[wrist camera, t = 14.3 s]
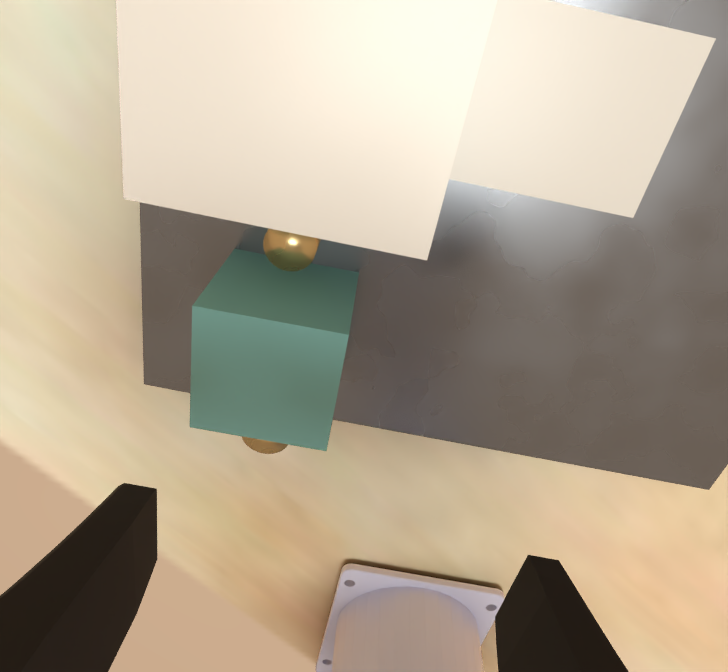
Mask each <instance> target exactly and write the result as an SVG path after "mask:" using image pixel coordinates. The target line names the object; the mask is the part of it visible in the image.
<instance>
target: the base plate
mask: <svg viewBox="0 0 728 672" xmlns="http://www.w3.org/2000/svg"><path fill="white" fill-rule="evenodd" d="M550 1H554V2H559V3H563V4H567V5H572V6H576V7H581V8H585V9H589V10H594V11H598V12H602V13H607V14H611V15H615V16H620V17H624V18H629V19H633V20H637V21H642V22H646V23H650V24H655V25H659V26H663V27H668V28H672V29H677V30H681V31H685V32H690V33H694V34H698V35H703V36H707V37H711V38H716V40H715V42H714V44H713V46H712V48H711V50H710V53H709V55H708V57H707V59H706V61H705V63H704V66H703V68H702V70H701V72H700V74H699V76H698V79H697V81H696V83H695V85H694V87H693V89H692V92H691V94H690V96H689V98H688V100H687V102H686V105H685V107H684V109H683V111H682V113H681V115H680V118H679V120H678V122H677V124H676V126H675V128H674V131H673V133H672V135H671V137H670V139H669V141H668V143H667V146H666V148H665V150H664V152H663V154H662V156H661V159H660V161H659V163H658V165H657V167H656V169H655V172H654V174H653V176H652V178H651V180H650V182H649V185H648V187H647V189H646V191H645V193H644V195H643V198H642V200H641V202H640V204H639V206H638V208H637V211H636V213H635V215H634V217H633V218H631V217H626V216H621V215H616V214H612V213H607V212H602V211H597V210H593V209H588V208H583V207H578V206H574V205H569V204H564V203H559V202H555V201H550V200H545V199H540V198H536V197H531V196H526V195H521V194H517V193H512V192H507V191H503V190H498V189H493V188H488V187H484V186H479V185H474V184H469V183H465V182H460V181H455V180H450V179H449V181H448V185H447V188H446V192H445V196H444V200H443V203H442V207H441V211H440V214H439V218H438V222H437V225H436V229H435V233H434V236H433V240H432V244H431V248H430V251H429V255H428V259H427V260H422V259H417V258H412V257H407V256H403V255H398V254H393V253H388V252H383V251H378V250H373V249H368V248H363V247H358V246H353V245H348V244H343V243H338V242H334V241H329V240H324V239H319V238H314V237H309V236H304V235H299V234H294V233H289V232H284V231H279V230H274V229H269V228H265V227H260V226H255V225H250V224H245V223H240V222H235V221H230V220H225V219H220V218H215V217H210V216H205V215H201V214H196V213H191V212H186V211H181V210H176V209H171V208H166V207H161V206H156V205H151V204H146V203H141V202H140V226H141V271H142V315H143V360H144V384H146V385H151V386H157V387H162V388H167V389H173V390H178V391H183V392H189V393H190V391H191V341H192V305H193V304H194V303H195V301H196V300H197V299H198V297H199V296H200V295H201V293H202V292H203V291H204V289H205V288H206V287H207V285H208V284H209V282H210V281H211V280H212V278H213V277H214V276H215V274H216V273H217V272H218V270H219V269H220V268H221V266H222V265H223V264H224V262H225V261H226V260H227V258H228V257H229V255H230V254H231V253H232V251H233V250H234V249H239V250H244V251H249V252H255V253H260V254H265V255H266V256H267V258H268V259H269V261H270V262H271V263H272V264H273V265H274V266H276V267H277V268H279V269H282V270H285V271H299V270H302V269H304V268H306V267H307V266H308V265H309V264H310V263H312V264H317V265H323V266H328V267H333V268H338V269H344V270H349V271H354V272H359V276H358V282H357V288H356V294H355V301H354V307H353V313H352V319H351V325H350V332H349V337H348V342H347V348H346V353H345V358H344V363H343V368H342V373H341V378H340V384H339V389H338V394H337V399H336V404H335V409H334V414H333V420H338V421H344V422H349V423H354V424H360V425H365V426H371V427H376V428H381V429H387V430H392V431H397V432H403V433H408V434H413V435H419V436H424V437H429V438H435V439H440V440H445V441H451V442H456V443H461V444H467V445H472V446H478V447H483V448H488V449H494V450H499V451H504V452H510V453H515V454H520V455H526V456H531V457H536V458H542V459H547V460H552V461H558V462H563V463H568V464H574V465H579V466H585V467H590V468H595V469H601V470H606V471H611V472H617V473H622V474H627V475H633V476H638V477H643V478H649V479H654V480H659V481H665V482H670V483H675V484H681V485H686V486H692V487H697V488H702V489H708V490H709V489H710V488H711V486H712V485H713V483H714V482H715V481H716V479H717V478H718V477H719V475H720V474H721V473H722V471H723V470H724V468H725V467H726V466H727V464H728V0H550ZM242 439H243V441H244V442H245V443H246V444H247V445H248V446H249V447H250V448H251V449H253V450H255V451H257V452H260V453H265V454H273V453H277V452H280V451H282V450H283V449H285V448H286V447H287V445H288V444H283V443H277V442H272V441H266V440H260V439H255V438H249V437H243V436H242Z"/></svg>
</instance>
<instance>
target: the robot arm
mask: <svg viewBox="0 0 728 672" xmlns="http://www.w3.org/2000/svg"><path fill="white" fill-rule="evenodd" d="M156 561H157V489H155V488H149V487H143V486H138V485H132V484H126V483H124V484H122V485H120V486H118V487H117V488H116V489H115V490H114V491H113V492H112V493H111V494H110V495H109V496H108V497H107V498H106V499H105V500H104V501H103V502H102V503H101V504H100V505H99V506H98V507H97V508H96V509H95V510H94V511H93V512H92V513H91V514H90V515H89V516H88V517H87V518H86V519H85V520H84V521H83V522H82V523H81V524H80V525H79V526H78V527H77V528H76V529H74V531H72V532H71V533H70V534H69V535H68V536H67V537H66V538H65V539H64V540H63V541H62V542H61V543H60V544H58V545H57V546H56V547H55V548H54V549H53V550H52V551H51V552H50V553H49V554H47V555H46V556H45V557H44V558H43V559H42V560H41V561H39V563H37V564H36V565H35V566H34V567H33V568H32V569H31V570H29V571H28V572H27V573H26V574H25V575H24V576H23V577H22V578H21V579H19V580H18V581H17V582H16V583H15V584H14V585H12V586H11V587H10V588H9V589H8V590H7V591H6V592H4V593H3V594H2V595H1V596H0V672H108V671H109V669H110V667H111V664H112V662H113V661H114V658H115V656H116V654H117V652H118V650H119V648H120V646H121V644H122V642H123V640H124V638H125V636H126V634H127V632H128V630H129V628H130V626H131V624H132V622H133V620H134V618H135V616H136V614H137V611H138V608H139V606H140V603H141V601H142V598H143V596H144V593H145V590H146V587H147V585H148V582H149V579H150V577H151V574H152V572H153V569H154V566H155V563H156ZM494 621H495V625H496V644H497V658H498V671H499V672H628V670H627V669H626V667H625V665H624V664H623V662H622V661H621V659H620V658H619V656H618V655H617V653H616V652H615V650H614V649H613V647H612V645H611V644H610V642H609V641H608V639H607V637H606V636H605V634H604V633H603V631H602V629H601V628H600V626H599V625H598V623H597V621H596V620H595V618H594V617H593V615H592V613H591V612H590V610H589V609H588V607H587V605H586V604H585V602H584V600H583V599H582V597H581V596H580V594H579V592H578V591H577V589H576V587H575V586H574V584H573V583H572V581H571V579H570V578H569V576H568V575H567V573H566V571H565V570H564V568H563V567H562V565H561V563H560V562H559V560H554V559H548V558H542V557H537V556H531V555H528V556H527V558H526V560H525V562H524V564H523V566H522V567H521V569H520V571H519V573H518V575H517V577H516V579H515V580H514V582H513V584H512V586H511V588H510V590H509V592H508V594H507V595H506V597H505V598H504V593H503V592H502V591H501V590H499V589H496V588H491V587H485V586H479V585H474V584H468V583H462V582H457V581H451V580H445V579H439V578H434V577H428V576H422V575H416V574H411V573H405V572H399V571H393V570H388V569H382V568H376V567H370V566H365V565H359V564H352V563H350V564H346V565H344V566H343V567H342V570H341V573H340V577H339V581H338V585H337V588H336V592H335V596H334V599H333V603H332V607H331V611H330V614H329V618H328V622H327V626H326V629H325V633H324V637H323V640H322V644H321V648H320V652H319V655H318V659H317V663H316V672H484V669H483V661H482V654H481V645H482V643H483V641H484V639H485V637H486V636H487V634H488V632H489V630H490V628H491V626H492V624H493V623H494Z"/></svg>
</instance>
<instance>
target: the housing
mask: <svg viewBox="0 0 728 672" xmlns="http://www.w3.org/2000/svg"><path fill="white" fill-rule="evenodd" d="M116 15H117V41H118V68H119V94H120V120H121V146H122V172H123V198H124V199H127V200H132V201H136V202H141V203H146V204H151V205H156V206H161V207H166V208H171V209H176V210H181V211H186V212H191V213H196V214H201V215H205V216H210V217H215V218H220V219H225V220H230V221H235V222H240V223H245V224H250V225H255V226H260V227H265V228H269V229H274V230H279V231H284V232H289V233H294V234H299V235H304V236H309V237H314V238H319V239H324V240H329V241H334V242H338V243H343V244H348V245H353V246H358V247H363V248H368V249H373V250H378V251H383V252H388V253H393V254H398V255H403V256H407V257H412V258H417V259H422V260H427V259H428V255H429V251H430V248H431V244H432V240H433V236H434V233H435V229H436V225H437V222H438V218H439V214H440V211H441V207H442V203H443V200H444V196H445V192H446V188H447V185H448V181H449V179H450V180H455V181H460V182H465V183H469V184H474V185H479V186H484V187H488V188H493V189H498V190H503V191H507V192H512V193H517V194H521V195H526V196H531V197H536V198H540V199H545V200H550V201H555V202H559V203H564V204H569V205H574V206H578V207H583V208H588V209H593V210H597V211H602V212H607V213H612V214H616V215H621V216H626V217H631V218H633V217H634V215H635V213H636V211H637V208H638V206H639V204H640V202H641V200H642V198H643V195H644V193H645V191H646V189H647V187H648V185H649V182H650V180H651V178H652V176H653V174H654V172H655V169H656V167H657V165H658V163H659V161H660V159H661V156H662V154H663V152H664V150H665V148H666V146H667V143H668V141H669V139H670V137H671V135H672V133H673V131H674V128H675V126H676V124H677V122H678V120H679V118H680V115H681V113H682V111H683V109H684V107H685V105H686V102H687V100H688V98H689V96H690V94H691V92H692V89H693V87H694V85H695V83H696V81H697V79H698V76H699V74H700V72H701V70H702V68H703V66H704V63H705V61H706V59H707V57H708V55H709V53H710V50H711V48H712V46H713V44H714V42H715V40H716V38H711V37H707V36H703V35H698V34H694V33H690V32H685V31H681V30H677V29H672V28H668V27H663V26H659V25H655V24H650V23H646V22H642V21H637V20H633V19H629V18H624V17H620V16H615V15H611V14H607V13H602V12H598V11H594V10H589V9H585V8H581V7H576V6H572V5H567V4H563V3H559V2H554V1H550V0H116Z"/></svg>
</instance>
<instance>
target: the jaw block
mask: <svg viewBox="0 0 728 672" xmlns="http://www.w3.org/2000/svg"><path fill="white" fill-rule="evenodd" d="M358 276H359V272H354V271H349V270H344V269H338V268H333V267H328V266H323V265H317V264H312V263H310V264H309V265H308V266H307V267H306V268H304V269H302V270H299V271H285V270H282V269H279V268H277V267H276V266H274V265H273V264H272V263H271V262H270V261H269V259H268V258H267V256H266V255H265V254H260V253H255V252H249V251H244V250H239V249H234V250H233V251H232V253H231V254H230V255H229V257H228V258H227V260H226V261H225V262H224V264H223V265H222V266H221V268H220V269H219V270H218V272H217V273H216V274H215V276H214V277H213V278H212V280H211V281H210V282H209V284H208V285H207V287H206V288H205V289H204V291H203V292H202V293H201V295H200V296H199V297H198V299H197V300H196V301H195V303H194V304H193V305H192V341H191V391H190V427H192V428H198V429H204V430H209V431H215V432H221V433H226V434H232V435H238V436H243V437H249V438H255V439H260V440H266V441H272V442H277V443H283V444H289V445H294V446H300V447H306V448H311V449H317V450H323V451H326V450H327V445H328V440H329V435H330V430H331V425H332V420H333V414H334V409H335V404H336V399H337V394H338V389H339V384H340V378H341V373H342V368H343V363H344V358H345V353H346V348H347V342H348V337H349V332H350V325H351V319H352V313H353V307H354V301H355V294H356V288H357V282H358Z"/></svg>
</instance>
